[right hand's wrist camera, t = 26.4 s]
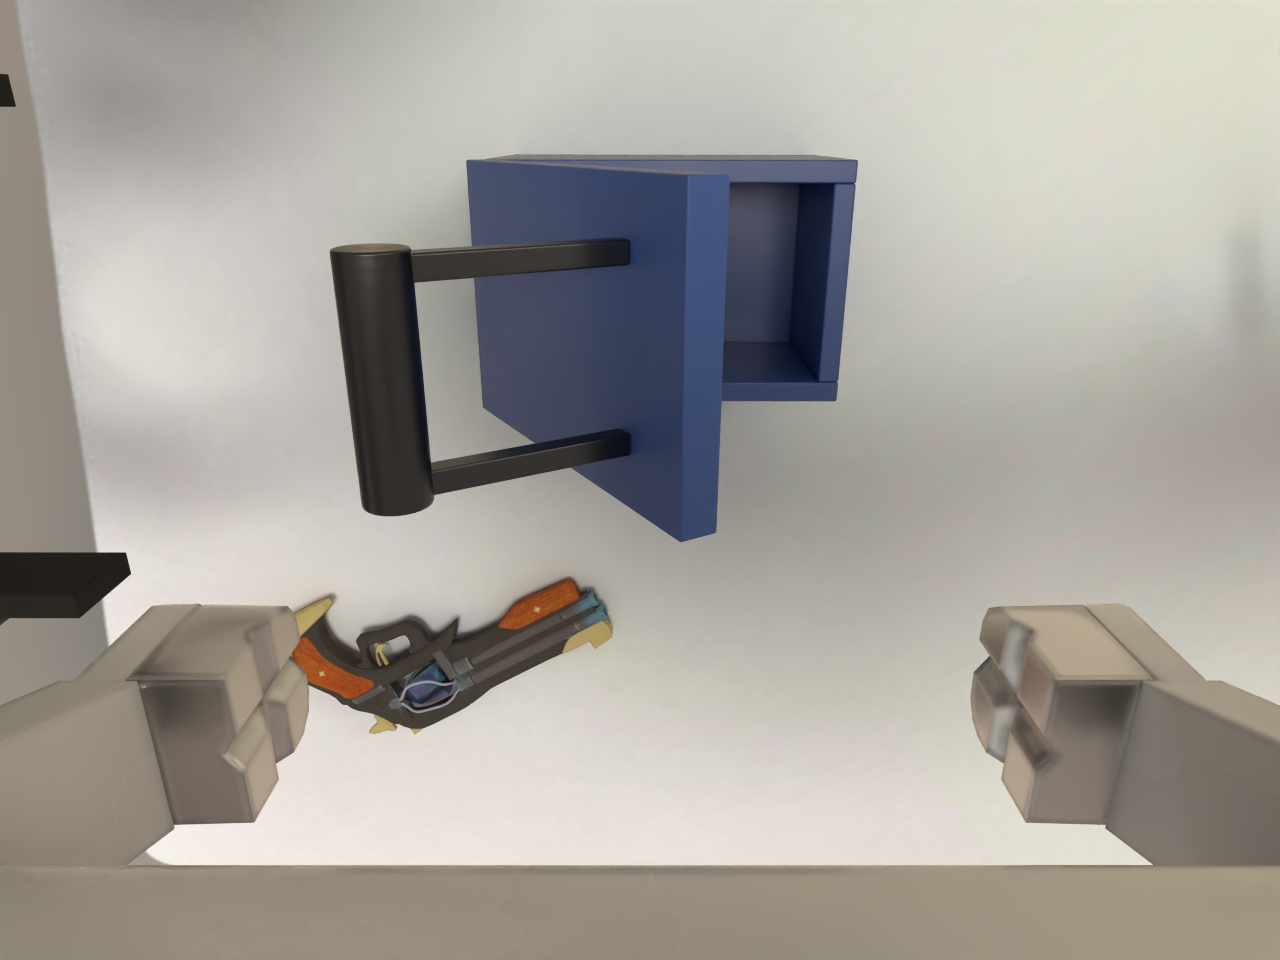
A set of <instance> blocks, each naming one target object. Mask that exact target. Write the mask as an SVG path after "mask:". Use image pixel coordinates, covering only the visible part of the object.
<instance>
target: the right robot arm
mask: <svg viewBox="0 0 1280 960" xmlns="http://www.w3.org/2000/svg"><path fill="white" fill-rule="evenodd" d="M300 640H301V639H300V634H299V629H298V625H297V620H296V615H295V614H294V613H293V612H292V611H291V609H290V608H289V607H288V606H249V605H200V604H171V605H157V606H152V607H150V608H149V609H148V610H147V611H146V612H145V613H144V614H143V615H142V616H141V617H140V618H139V619H138V620H137V621H136V622H135V623H134V624H133V625H132V626H130V627H129V628H128V629H127V630H126V631H125V632H124V633H123V634H122V635H121V636H120V637H119V638H118V639H117V640H116V641H115V642H114V643H113V644H112V645H111V646H109V647H108V648H107V649H106V650H105V651H104V652H103V653H102V654H101V655H100V656H99V657H98V658H97V659H96V660H95V661H94V662H93V663H92V664H91V665H89V666H88V667H87V668H86V669H85V670H84V671H83V672H82V673H81V674H80V675H79V676H78V677H77V678H76V679H75V680H74V681H58V682H55V683H53V684H50V685H48V686H46V687H43V688H41V689H38V690H36V691H34V692H31V693H29V694H27V695H24V696H22V697H20V698H17V699H15V700H12V701H10V702H8V703H5V704H3V705H0V960H1280V706H1279V705H1277V704H1275V703H1272V702H1270V701H1268V700H1265V699H1263V698H1260V697H1258V696H1256V695H1253V694H1251V693H1249V692H1246V691H1244V690H1241V689H1239V688H1237V687H1234V686H1232V685H1230V684H1227V683H1225V682H1223V681H1206V680H1205V679H1204V678H1203V677H1202V676H1201V675H1200V674H1199V673H1198V672H1197V671H1196V670H1195V669H1194V668H1193V667H1192V666H1191V665H1190V664H1189V663H1187V662H1186V661H1185V660H1184V659H1183V658H1182V657H1181V656H1180V655H1179V654H1178V653H1177V652H1176V651H1175V650H1174V649H1173V648H1172V647H1171V646H1170V645H1169V644H1168V643H1167V642H1165V641H1164V640H1163V639H1162V638H1161V637H1160V636H1159V635H1158V634H1157V633H1156V632H1155V631H1154V630H1153V629H1152V628H1151V627H1150V626H1149V625H1148V624H1147V623H1146V622H1145V621H1143V620H1142V619H1141V618H1140V617H1139V616H1138V615H1137V614H1136V613H1135V612H1134V611H1133V610H1132V609H1131V608H1130V607H1127V606H1124V605H1121V604H1097V605H1052V606H1010V607H994V608H989V609H988V611H987V613H986V615H985V617H984V619H983V623H982V628H981V634H980V639H979V640H980V641H981V643H982V644H983V646H984V647H985V649H986V651H987V652H988V654H989V655H990V656H989V657H988V658H987V659H986V660H985V661H984V662H983V663H982V664H981V665H980V666H979V667H978V668H977V670H976V671H975V672H974V675H973V683H972V690H971V706H972V718H973V723H974V726H975V729H976V732H977V736H978V738H979V740H980V742H981V744H982V746H983V747H984V749H985V751H986V752H987V753H988V754H990V755H991V756H993V757H995V758H996V759H998V760H999V761H1001V762H1002V763H1004V767H1003V772H1002V778H1001V780H1002V782H1003V783H1004V785H1005V787H1006V789H1007V790H1008V792H1009V794H1010V796H1011V797H1012V799H1013V801H1014V803H1015V804H1016V806H1017V808H1018V810H1019V811H1020V813H1021V815H1022V817H1023V818H1024V820H1025V822H1026V823H1061V824H1098V825H1106V827H1105V828H1106V829H1107V830H1108V831H1110V832H1111V833H1112V834H1114V835H1115V836H1116V837H1118V838H1119V839H1120V840H1122V841H1123V842H1124V843H1125V844H1127V845H1128V846H1129V847H1131V848H1132V849H1133V850H1135V851H1136V852H1137V853H1139V854H1140V855H1141V856H1143V857H1144V858H1145V859H1146V860H1148V861H1149V862H1150V863H1152V864H1153V865H127V864H129V863H130V862H131V861H132V860H134V859H135V858H136V857H138V856H139V855H140V854H142V853H143V852H144V851H146V850H147V849H148V848H150V847H151V846H152V845H154V844H155V843H156V842H157V841H159V840H160V839H161V838H163V837H164V836H165V835H167V834H168V833H169V832H171V831H172V830H173V829H174V825H181V824H217V823H253V822H255V820H256V818H257V817H258V815H259V813H260V811H261V810H262V808H263V806H264V804H265V803H266V801H267V799H268V797H269V796H270V794H271V792H272V790H273V789H274V787H275V785H276V783H277V782H278V780H279V778H278V772H277V767H276V763H278V762H279V761H281V760H282V759H284V758H286V757H287V756H289V755H290V754H292V753H293V752H294V751H295V749H296V747H297V745H298V744H299V742H300V740H301V738H302V736H303V733H304V729H305V725H306V720H307V716H308V712H309V688H308V681H307V675H306V672H305V671H304V670H303V668H302V667H301V666H300V665H299V664H298V663H297V662H296V661H295V660H294V659H293V658H292V657H291V656H290V655H291V654H292V652H293V651H294V649H295V647H296V646H297V644H298V643H299V641H300Z"/></svg>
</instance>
